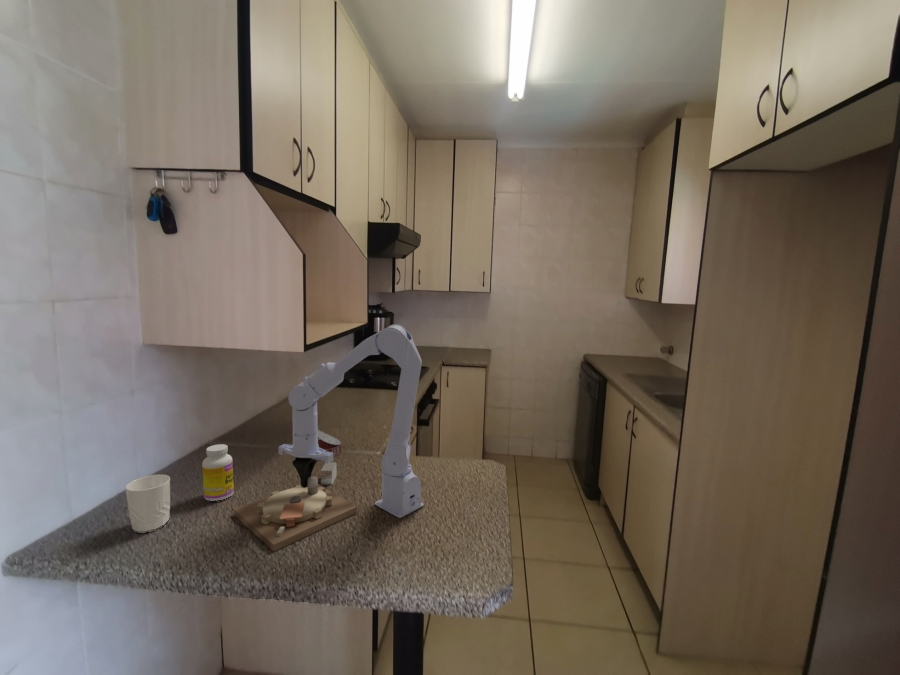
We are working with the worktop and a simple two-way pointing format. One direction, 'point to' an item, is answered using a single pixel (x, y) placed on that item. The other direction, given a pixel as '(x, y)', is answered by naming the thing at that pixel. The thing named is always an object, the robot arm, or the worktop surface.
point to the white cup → (149, 502)
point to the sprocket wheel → (295, 504)
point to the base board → (283, 535)
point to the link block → (328, 473)
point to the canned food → (329, 443)
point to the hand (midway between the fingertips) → (306, 485)
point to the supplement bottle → (217, 473)
